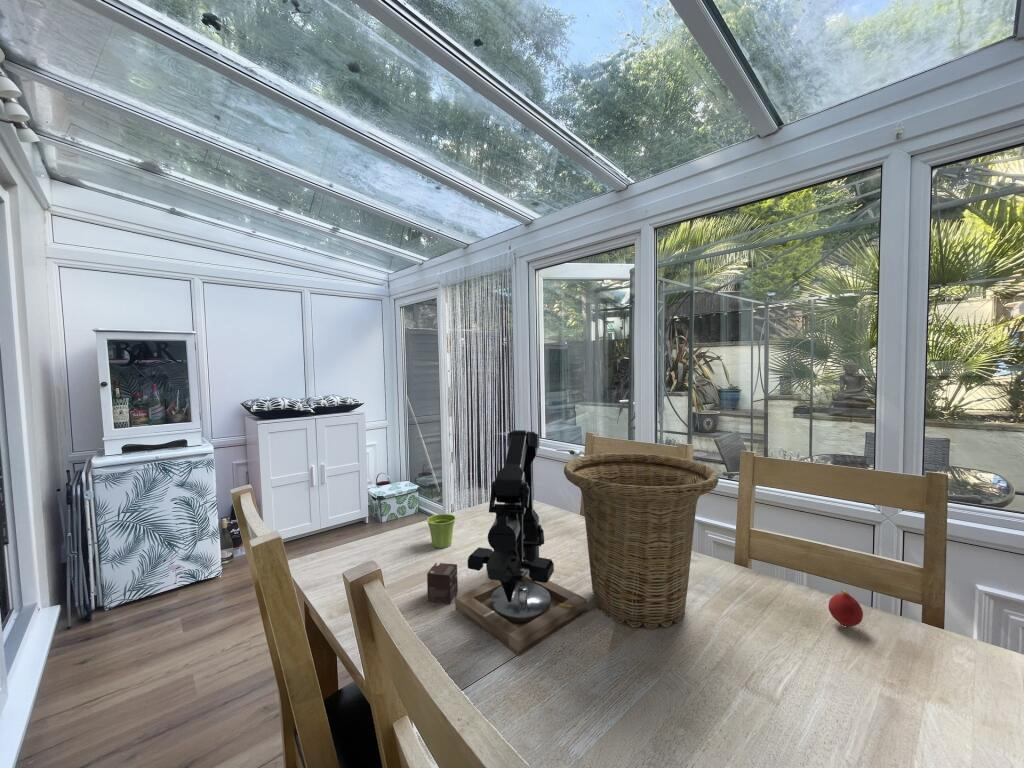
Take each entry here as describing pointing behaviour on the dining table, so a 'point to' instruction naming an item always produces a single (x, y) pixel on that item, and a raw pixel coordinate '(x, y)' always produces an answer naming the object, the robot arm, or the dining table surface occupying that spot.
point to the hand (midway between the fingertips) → (510, 601)
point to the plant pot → (441, 529)
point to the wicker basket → (640, 531)
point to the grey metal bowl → (521, 603)
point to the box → (442, 583)
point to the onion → (845, 609)
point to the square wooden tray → (528, 634)
